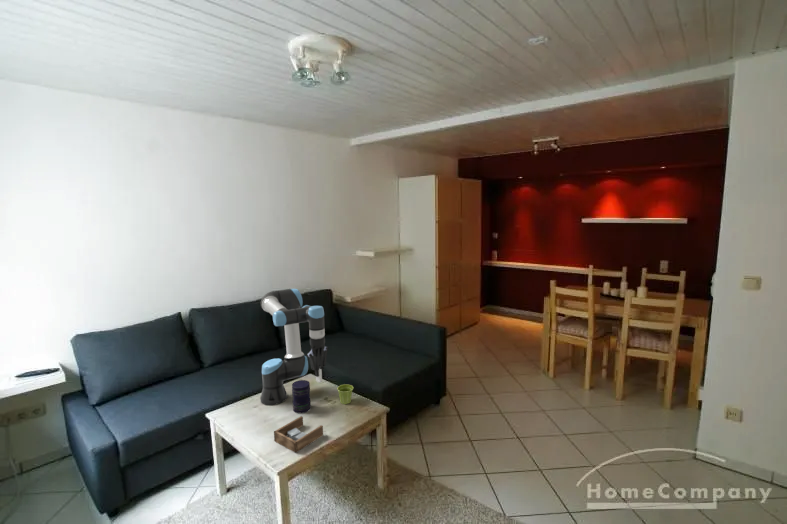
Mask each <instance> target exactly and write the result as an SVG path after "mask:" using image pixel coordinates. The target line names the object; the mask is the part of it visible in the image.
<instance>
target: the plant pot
mask: <svg viewBox="0 0 787 524" xmlns="http://www.w3.org/2000/svg"><path fill="white" fill-rule="evenodd" d="M336 389H337V393H338V396H339V402H340V404H342V405H348V404H350V403H351V402H352V395H353V390H354V386H353V385H351V384H345V383H344V384H340V385H339V386H338V387H337V388H336Z"/></svg>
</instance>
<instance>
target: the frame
mask: <svg viewBox="0 0 787 524" xmlns="http://www.w3.org/2000/svg"><path fill="white" fill-rule="evenodd" d="M301 427H304V416H302V415H301V416H299V417H297V418H296V419H294V420H292V421H290V422H289V423H287V424H285V425H283V426H281V427H279V428H277V429H276V430H273V438H274V439H273V441H274V442H276V443H277V444H278V445H280V446H282V447H285V448H286V449H287V450H290V451H291V452H293V453H295V454H297V453H298V452H300V451H301V450H303V449H304V448H306V447H307V446H309V445H311V444H312V443H313V442H315V441H317V440H318V439H320V438H321V437H323V436H324V426H323V425H319V426H318V427H316V428H314V429H313V430H311V431H309V432H308V433H306V435H305V436H303V437H302V438H300V439H298V440H297V441H295V440H293V439H291V438H289V437H287V431H290V430H292V429H294V428H297V429H298V430H299V429H300V428H301Z"/></svg>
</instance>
